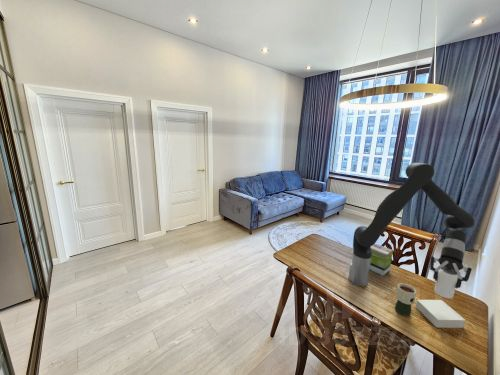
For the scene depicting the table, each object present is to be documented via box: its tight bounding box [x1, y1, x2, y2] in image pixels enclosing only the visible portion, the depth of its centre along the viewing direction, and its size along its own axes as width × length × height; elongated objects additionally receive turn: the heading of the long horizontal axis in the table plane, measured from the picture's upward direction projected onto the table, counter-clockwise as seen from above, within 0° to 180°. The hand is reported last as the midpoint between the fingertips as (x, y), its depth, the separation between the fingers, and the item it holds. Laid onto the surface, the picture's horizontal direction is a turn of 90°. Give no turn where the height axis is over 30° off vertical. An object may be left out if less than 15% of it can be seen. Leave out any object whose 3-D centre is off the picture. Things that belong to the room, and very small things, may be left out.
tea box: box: [369, 243, 394, 277], centre depth 136 cm, size 15×10×15 cm, turn 37°
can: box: [433, 267, 458, 300], centre depth 96 cm, size 6×6×12 cm
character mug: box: [394, 283, 417, 317], centre depth 101 cm, size 11×7×13 cm, turn 133°
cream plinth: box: [415, 299, 466, 329], centre depth 99 cm, size 12×12×4 cm
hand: (446, 283), depth 94 cm, fingers closed on can, 6 cm apart
